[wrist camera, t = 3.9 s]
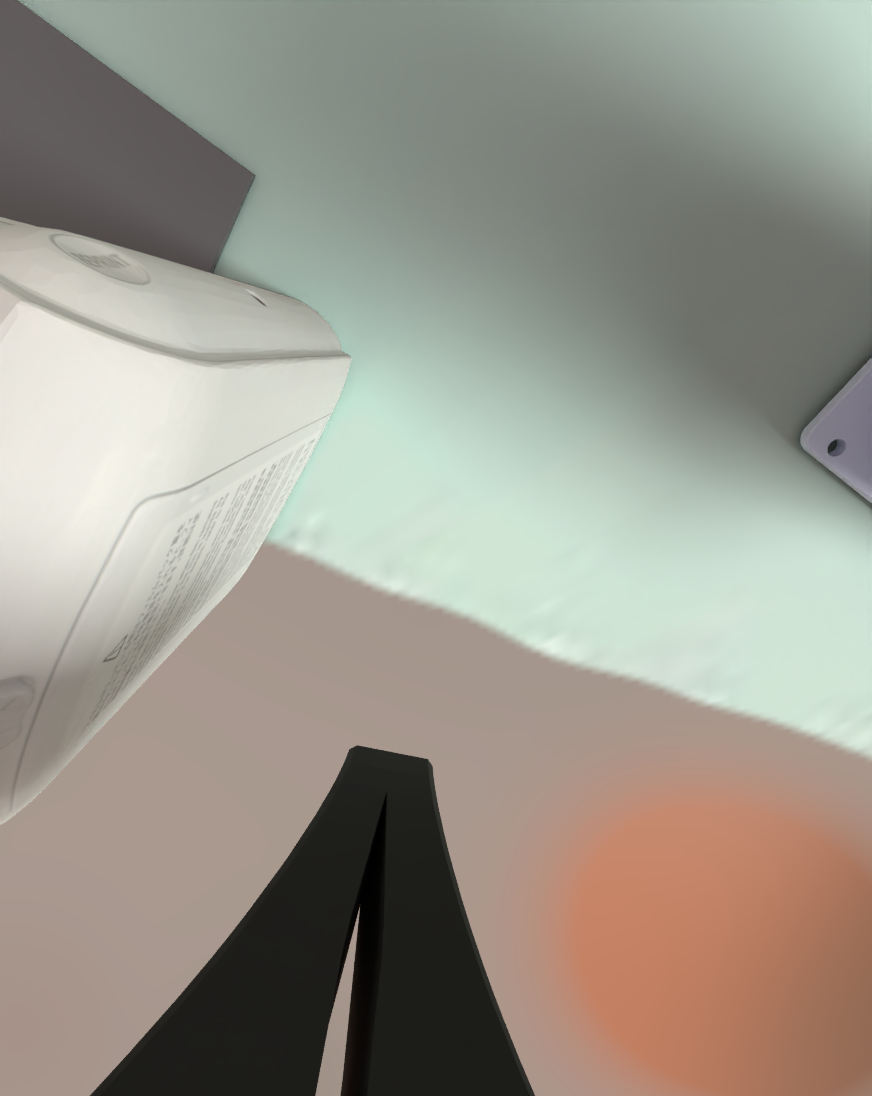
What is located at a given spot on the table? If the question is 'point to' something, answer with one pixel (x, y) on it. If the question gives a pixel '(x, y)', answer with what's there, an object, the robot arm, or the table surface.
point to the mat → (105, 153)
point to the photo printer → (132, 470)
